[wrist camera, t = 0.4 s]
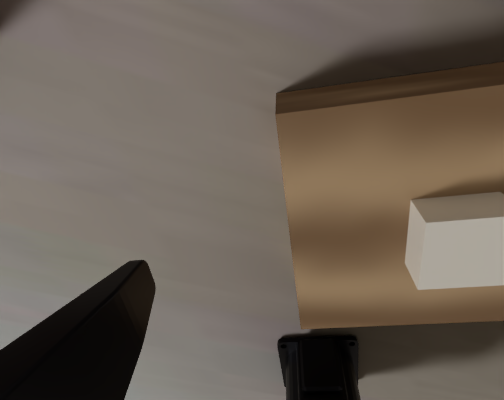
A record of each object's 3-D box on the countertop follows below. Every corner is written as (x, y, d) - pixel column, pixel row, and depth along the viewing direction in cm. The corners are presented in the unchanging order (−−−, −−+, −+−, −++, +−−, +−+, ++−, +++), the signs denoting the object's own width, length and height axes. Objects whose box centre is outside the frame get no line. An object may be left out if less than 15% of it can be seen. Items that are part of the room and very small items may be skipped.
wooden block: (535, 270, 23) (580, 317, 19) (298, 284, 25) (301, 329, 22) (613, 46, 16) (704, 58, 12) (276, 93, 18) (275, 114, 15)
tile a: (484, 257, 18) (506, 285, 16) (404, 262, 18) (417, 290, 17) (500, 191, 16) (527, 214, 14) (410, 199, 16) (426, 222, 15)
